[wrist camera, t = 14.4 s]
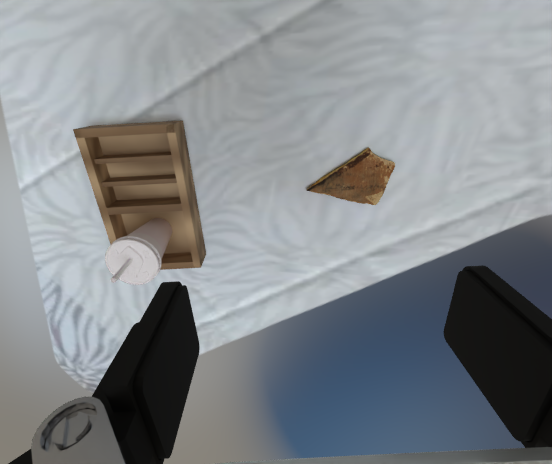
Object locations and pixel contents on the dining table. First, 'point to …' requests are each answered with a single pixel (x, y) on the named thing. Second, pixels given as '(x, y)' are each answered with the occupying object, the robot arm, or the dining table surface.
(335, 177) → the shard
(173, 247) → the wooden shelf
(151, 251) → the smoothie
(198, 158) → the dining table surface
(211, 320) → the dining table surface
